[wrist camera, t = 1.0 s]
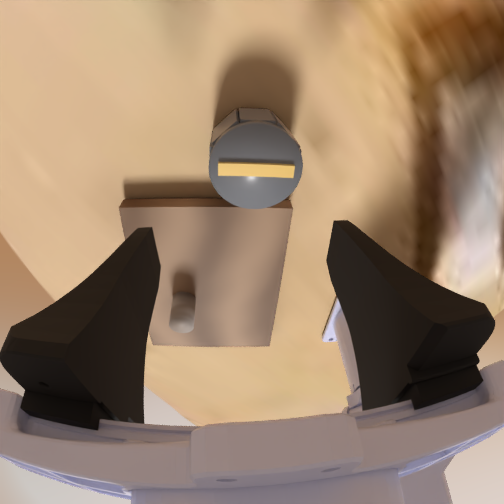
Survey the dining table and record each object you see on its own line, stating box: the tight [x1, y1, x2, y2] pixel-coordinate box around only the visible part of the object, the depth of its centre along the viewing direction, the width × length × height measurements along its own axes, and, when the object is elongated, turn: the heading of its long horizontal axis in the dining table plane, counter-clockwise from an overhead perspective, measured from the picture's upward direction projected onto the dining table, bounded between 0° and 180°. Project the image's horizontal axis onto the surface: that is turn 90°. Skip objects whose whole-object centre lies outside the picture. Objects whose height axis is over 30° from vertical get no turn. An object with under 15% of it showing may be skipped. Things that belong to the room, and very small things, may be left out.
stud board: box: [119, 198, 293, 347], centre depth 25 cm, size 12×16×4 cm
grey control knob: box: [209, 108, 303, 209], centre depth 17 cm, size 5×5×4 cm
